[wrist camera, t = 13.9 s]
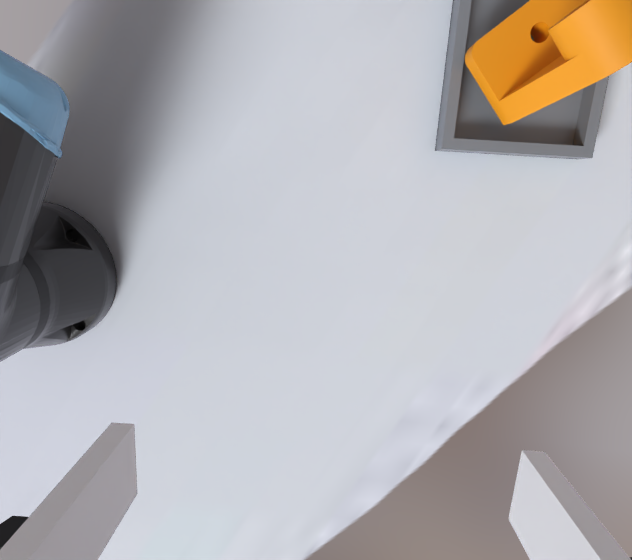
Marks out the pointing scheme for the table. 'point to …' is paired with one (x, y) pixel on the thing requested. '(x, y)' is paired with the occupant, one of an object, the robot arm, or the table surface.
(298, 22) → the table surface
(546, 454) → the robot arm
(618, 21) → the bracket
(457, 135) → the tray
